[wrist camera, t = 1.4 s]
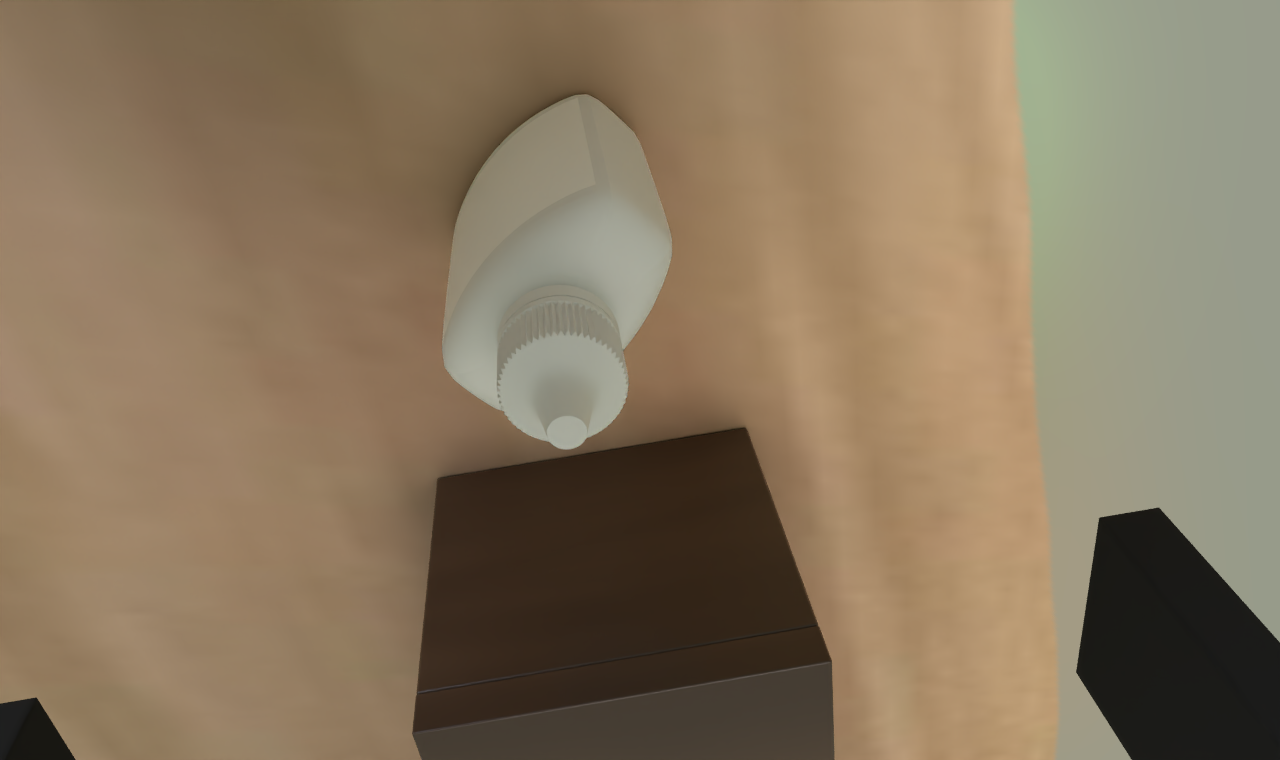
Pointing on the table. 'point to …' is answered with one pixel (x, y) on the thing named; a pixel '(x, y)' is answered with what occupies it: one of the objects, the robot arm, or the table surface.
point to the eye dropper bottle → (555, 271)
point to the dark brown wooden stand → (620, 613)
